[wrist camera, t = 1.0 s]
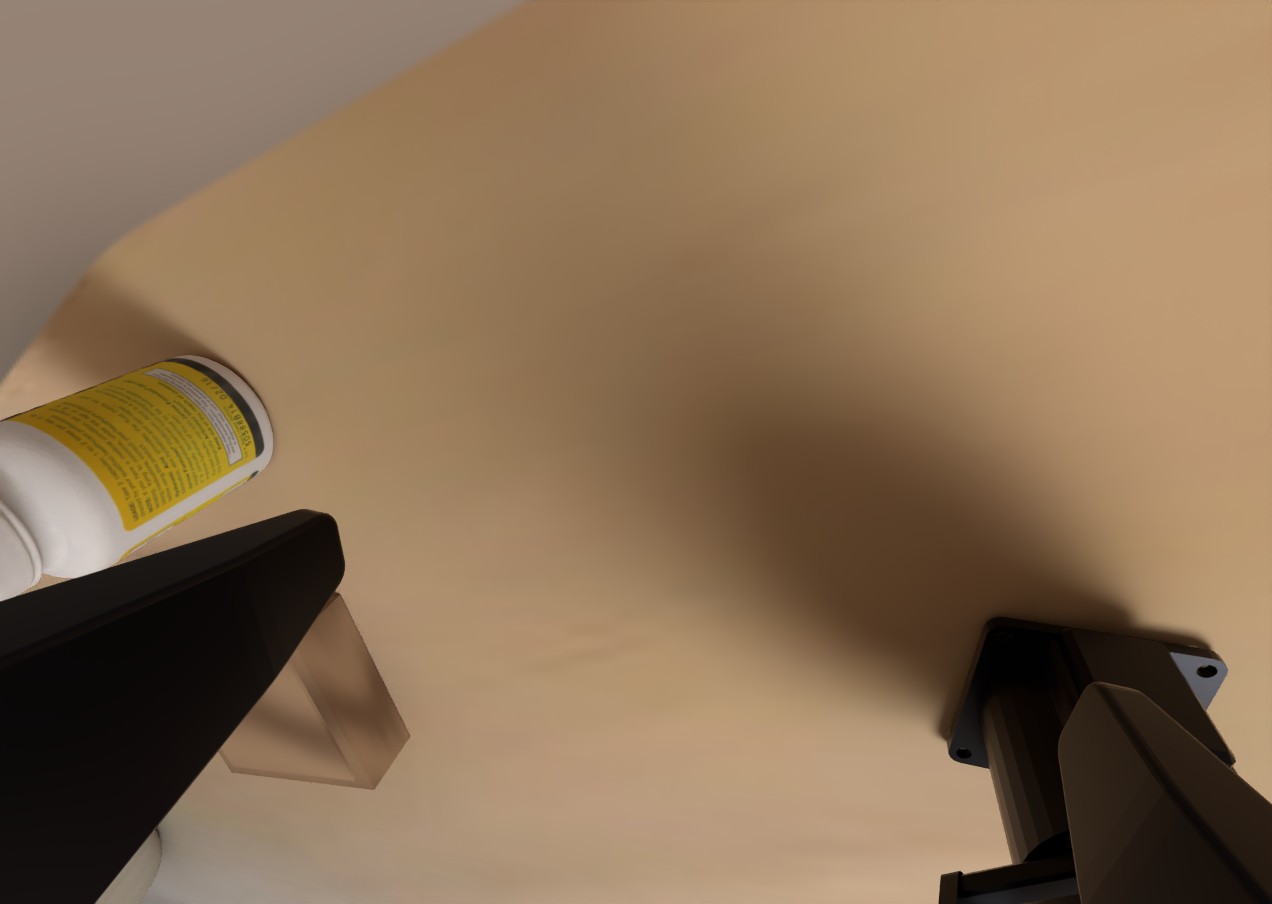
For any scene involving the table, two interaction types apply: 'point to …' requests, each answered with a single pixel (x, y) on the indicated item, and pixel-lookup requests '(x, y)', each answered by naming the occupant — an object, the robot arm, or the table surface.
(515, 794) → the table surface
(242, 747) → the square wooden block
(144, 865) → the canister
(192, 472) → the supplement bottle
